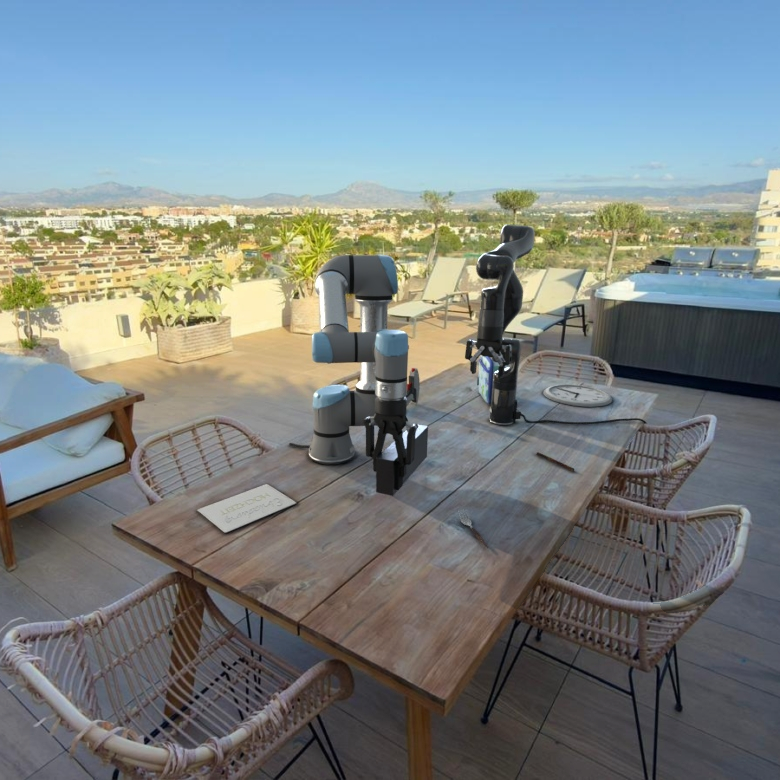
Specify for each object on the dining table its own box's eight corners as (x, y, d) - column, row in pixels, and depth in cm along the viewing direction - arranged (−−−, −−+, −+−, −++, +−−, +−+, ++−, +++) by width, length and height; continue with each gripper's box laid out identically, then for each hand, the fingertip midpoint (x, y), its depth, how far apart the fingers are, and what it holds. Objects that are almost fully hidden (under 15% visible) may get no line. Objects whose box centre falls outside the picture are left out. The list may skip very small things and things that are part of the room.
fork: (482, 550, 123) (483, 543, 123) (456, 516, 138) (457, 509, 138) (492, 549, 124) (493, 542, 124) (465, 515, 139) (466, 508, 138)
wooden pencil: (536, 454, 177) (536, 452, 176) (537, 454, 177) (537, 451, 177) (573, 471, 165) (573, 468, 164) (574, 471, 165) (574, 468, 165)
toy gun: (393, 376, 211) (414, 366, 222) (394, 412, 217) (415, 401, 228) (398, 377, 210) (419, 367, 221) (399, 414, 216) (419, 402, 227)
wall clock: (625, 402, 226) (558, 403, 224) (625, 406, 227) (558, 407, 224) (594, 383, 255) (534, 383, 252) (593, 386, 255) (534, 386, 253)
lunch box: (475, 390, 246) (478, 346, 240) (498, 390, 246) (501, 347, 240) (484, 408, 221) (487, 360, 215) (509, 409, 221) (513, 360, 215)
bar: (412, 454, 150) (413, 423, 148) (426, 456, 149) (428, 426, 146) (376, 492, 129) (376, 457, 126) (393, 496, 127) (393, 461, 124)
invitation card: (266, 483, 153) (296, 502, 143) (266, 484, 153) (296, 503, 143) (197, 509, 139) (225, 532, 129) (197, 510, 139) (225, 533, 129)
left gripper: (350, 395, 123) (350, 484, 130) (420, 406, 117) (417, 499, 124) (364, 387, 130) (364, 472, 137) (431, 397, 123) (427, 486, 130)
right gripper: (463, 322, 157) (460, 374, 162) (509, 328, 150) (505, 382, 155) (473, 319, 164) (469, 369, 168) (517, 324, 157) (512, 376, 161)
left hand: (389, 485), depth 130 cm, fingers closed on bar, 4 cm apart
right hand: (486, 375), depth 162 cm, fingers open, 8 cm apart
